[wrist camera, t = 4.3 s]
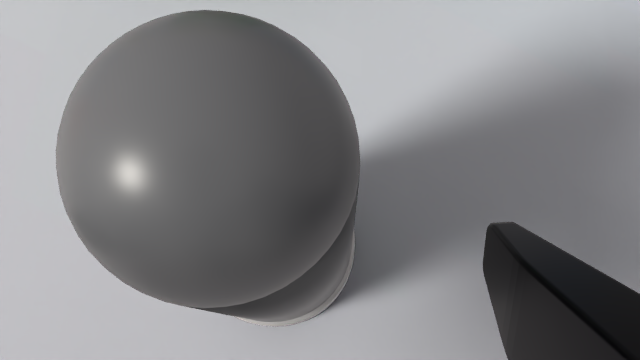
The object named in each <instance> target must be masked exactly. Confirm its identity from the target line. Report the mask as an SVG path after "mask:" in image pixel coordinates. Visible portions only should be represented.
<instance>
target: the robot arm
mask: <svg viewBox="0 0 640 360" xmlns="http://www.w3.org/2000/svg"><path fill="white" fill-rule="evenodd" d="M483 272H484V277H485V281H486V284H487V288H488V292H489V295H490V299H491V303H492V306H493V310H494V314H495V317H496V321H497V325H498V328H499V332H500V336H501V339H502V343H503V346H504V349H505V352H506V355H507V358H508V360H640V294H639V293H637V292H635V291H634V290H632V289H630V288H628V287H627V286H625V285H623V284H621V283H620V282H618V281H616V280H614V279H613V278H611V277H609V276H607V275H606V274H604V273H602V272H600V271H599V270H597V269H595V268H593V267H592V266H590V265H588V264H586V263H584V262H583V261H581V260H579V259H577V258H576V257H574V256H572V255H570V254H569V253H567V252H565V251H563V250H562V249H560V248H558V247H556V246H555V245H553V244H551V243H549V242H548V241H546V240H544V239H542V238H541V237H539V236H537V235H535V234H534V233H532V232H530V231H528V230H526V229H525V228H523V227H521V226H519V225H518V224H516V223H514V222H500V223H491V224H490V225H489V226H488V228H487V232H486V240H485V248H484V257H483Z"/></svg>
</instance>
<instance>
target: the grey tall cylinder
mask: <svg viewBox="0 0 640 360" xmlns="http://www.w3.org/2000/svg"><path fill="white" fill-rule="evenodd" d="M56 169H57V177H58V183H59V189H60V195H61V198H62V201H63V204H64V207H65V210H66V212H67V215H68V217H69V219H70V221H71V223H72V225H73V227H74V229H75V231H76V233H77V235H78V236H79V238H80V239H81V241H82V242H83V243H84V245H85V246H86V248H87V249H88V251H89V252H90V253H91V254H92V255H93V256H94V257H95V258H96V259H97V260H98V261H99V262H100V263H101V264H102V265H103V266H104V267H105V268H106V269H107V270H108V271H109V272H111V273H112V274H113V275H114V276H116V277H117V278H118V279H120V280H121V281H122V282H124V283H125V284H127V285H129V286H131V287H132V288H134V289H136V290H138V291H139V292H142V293H144V294H146V295H149V296H151V297H154V298H157V299H159V300H162V301H164V302H168V303H172V304H177V305H181V306H186V307H191V308H196V309H201V310H206V311H211V312H216V313H221V314H226V315H231V316H234V317H236V318H238V319H240V320H243V321H246V322H248V323H253V324H257V325H262V326H272V327H278V326H288V325H294V324H297V323H300V322H304V321H307V320H309V319H311V318H313V317H315V316H317V315H319V314H320V313H322V312H323V311H324V310H325V309H327V308H328V307H329V306H330V305H331V304H332V303H333V302H334V301H335V299H336V298H337V297H338V295H339V294H340V292H341V291H342V289H343V288H344V286H345V284H346V282H347V280H348V278H349V275H350V272H351V269H352V265H353V260H354V253H355V232H354V221H355V212H356V203H357V194H358V185H359V173H360V152H359V139H358V133H357V129H356V124H355V120H354V117H353V114H352V111H351V109H350V106H349V103H348V101H347V99H346V97H345V95H344V93H343V91H342V89H341V87H340V86H339V84H338V82H337V80H336V79H335V78H334V76H333V75H332V73H331V72H330V71H329V69H328V68H327V67H326V66H325V65H324V63H323V62H322V61H321V60H320V59H319V58H318V57H317V56H316V55H315V54H314V53H313V52H312V51H311V50H310V49H309V48H308V47H307V46H305V45H304V44H303V43H301V42H300V41H299V40H298V39H296V38H295V37H293V36H291V35H290V34H288V33H286V32H285V31H283V30H281V29H279V28H278V27H276V26H274V25H272V24H269V23H267V22H265V21H262V20H260V19H257V18H254V17H250V16H247V15H243V14H237V13H231V12H225V11H211V10H199V11H186V12H181V13H175V14H170V15H167V16H164V17H160V18H157V19H154V20H152V21H149V22H147V23H144V24H142V25H140V26H138V27H136V28H134V29H133V30H131V31H129V32H127V33H125V34H124V35H122V36H121V37H120V38H118V39H117V40H115V41H114V42H112V43H111V44H110V45H109V46H108V47H107V48H106V49H104V50H103V51H102V52H101V53H100V54H99V55H98V56H97V57H96V58H95V59H94V60H93V62H92V63H91V64H90V65H89V66H88V67H87V69H86V70H85V71H84V73H83V74H82V76H81V77H80V78H79V80H78V82H77V83H76V85H75V87H74V89H73V91H72V92H71V94H70V97H69V99H68V102H67V104H66V107H65V109H64V112H63V115H62V119H61V123H60V127H59V131H58V137H57V146H56Z"/></svg>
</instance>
